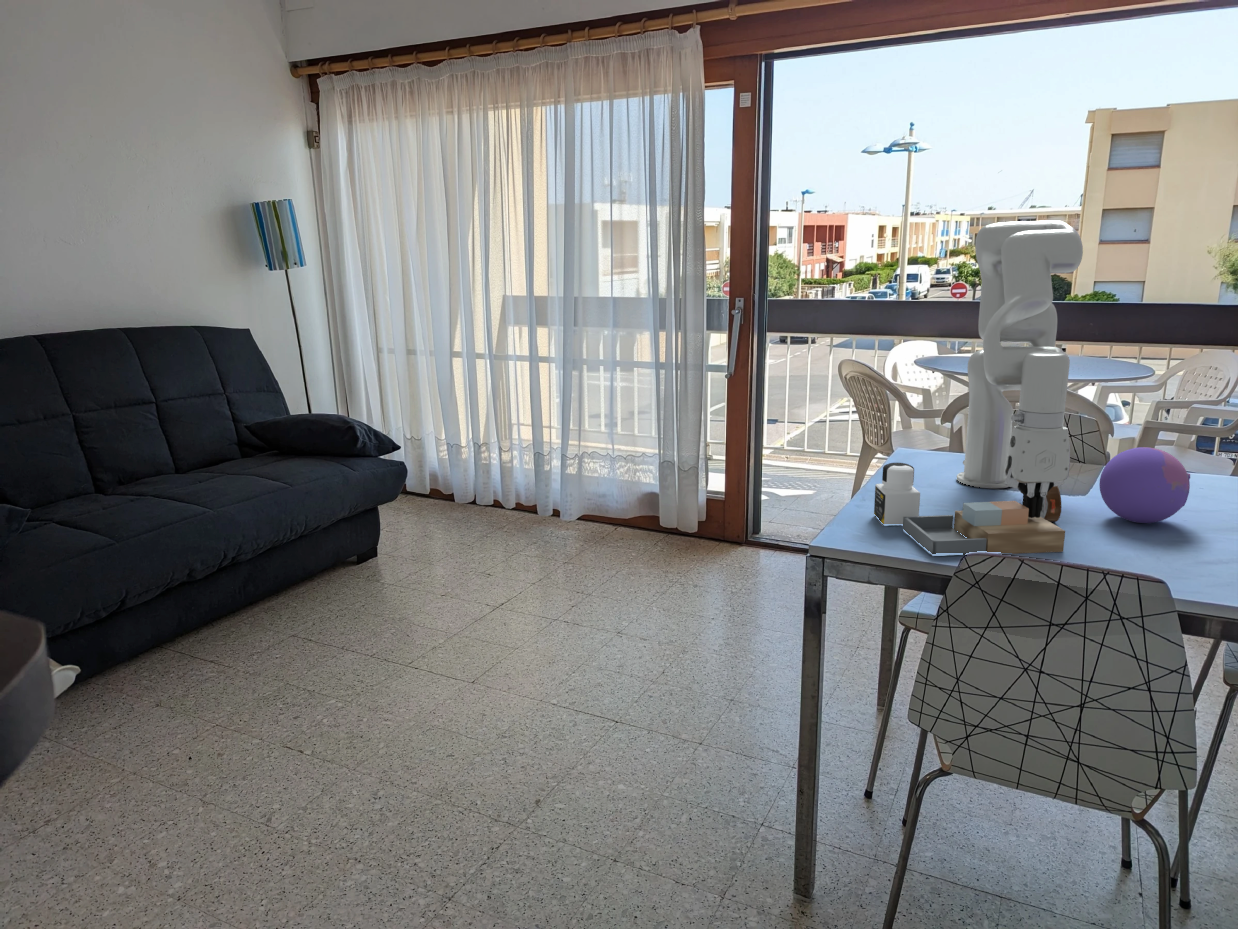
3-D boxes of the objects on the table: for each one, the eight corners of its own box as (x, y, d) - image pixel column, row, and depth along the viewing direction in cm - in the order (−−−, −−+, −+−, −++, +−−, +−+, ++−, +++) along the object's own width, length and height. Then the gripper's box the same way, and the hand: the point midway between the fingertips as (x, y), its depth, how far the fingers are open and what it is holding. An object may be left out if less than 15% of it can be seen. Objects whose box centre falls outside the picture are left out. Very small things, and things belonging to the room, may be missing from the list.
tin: (1061, 527, 161) (1065, 486, 159) (1044, 527, 161) (1048, 486, 159) (1034, 505, 175) (1038, 467, 173) (1019, 505, 176) (1022, 467, 174)
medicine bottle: (873, 516, 171) (876, 460, 168) (907, 515, 171) (911, 460, 168) (882, 526, 164) (885, 469, 161) (918, 526, 164) (922, 468, 161)
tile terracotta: (987, 516, 156) (989, 501, 155) (1013, 515, 156) (1014, 500, 155) (1001, 525, 151) (1002, 509, 150) (1027, 524, 151) (1028, 508, 150)
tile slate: (962, 518, 155) (963, 502, 155) (987, 516, 156) (989, 501, 155) (974, 526, 151) (975, 510, 150) (1000, 525, 151) (1002, 509, 150)
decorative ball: (1197, 535, 154) (1208, 458, 150) (1107, 530, 158) (1116, 455, 154) (1168, 512, 168) (1178, 441, 164) (1086, 508, 172) (1094, 439, 168)
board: (953, 530, 161) (954, 510, 160) (1023, 527, 161) (1025, 508, 160) (986, 554, 147) (988, 533, 146) (1063, 551, 148) (1065, 530, 147)
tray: (902, 531, 161) (903, 516, 160) (950, 529, 161) (952, 514, 161) (932, 557, 147) (933, 541, 146) (985, 554, 147) (986, 539, 147)
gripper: (1010, 425, 145) (1002, 523, 149) (1092, 422, 145) (1081, 520, 150) (990, 417, 152) (982, 511, 157) (1068, 414, 153) (1058, 508, 157)
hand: (1031, 515), depth 153 cm, fingers closed
